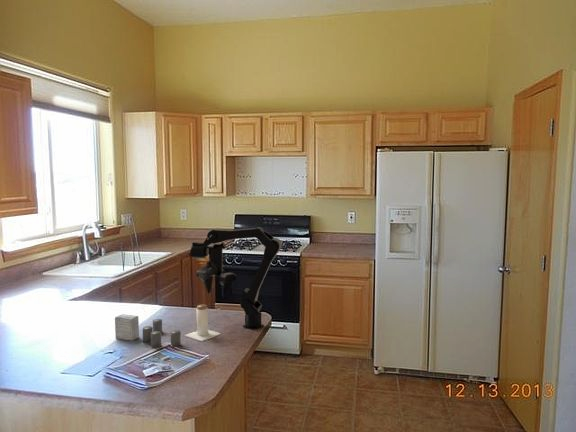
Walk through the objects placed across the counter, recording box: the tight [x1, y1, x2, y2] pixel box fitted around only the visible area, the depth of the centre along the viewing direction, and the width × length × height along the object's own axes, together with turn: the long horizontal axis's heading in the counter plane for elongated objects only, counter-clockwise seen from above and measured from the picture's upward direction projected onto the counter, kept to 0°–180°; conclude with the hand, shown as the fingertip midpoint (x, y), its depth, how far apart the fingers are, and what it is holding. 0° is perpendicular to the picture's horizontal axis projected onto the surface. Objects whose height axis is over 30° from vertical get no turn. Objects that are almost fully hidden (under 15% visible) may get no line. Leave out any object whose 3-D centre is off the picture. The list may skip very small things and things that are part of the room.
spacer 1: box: [142, 325, 153, 344], centre depth 160 cm, size 4×4×5 cm
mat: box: [184, 329, 221, 342], centre depth 166 cm, size 10×10×1 cm
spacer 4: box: [170, 329, 182, 348], centre depth 156 cm, size 4×4×5 cm
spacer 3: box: [150, 331, 162, 349], centre depth 155 cm, size 4×4×5 cm
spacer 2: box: [152, 318, 163, 334], centre depth 169 cm, size 4×4×5 cm
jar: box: [195, 303, 209, 336], centre depth 165 cm, size 4×4×12 cm
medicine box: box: [114, 313, 140, 341], centre depth 163 cm, size 8×4×9 cm, turn 71°
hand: (216, 294), depth 178 cm, fingers open, 9 cm apart
